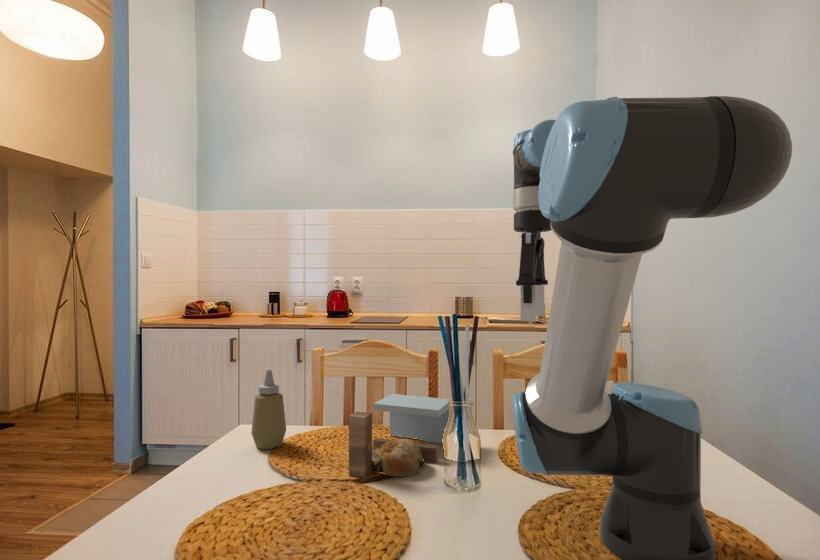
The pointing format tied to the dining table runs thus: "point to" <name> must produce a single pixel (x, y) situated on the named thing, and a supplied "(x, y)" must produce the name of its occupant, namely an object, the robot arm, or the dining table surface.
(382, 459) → the bread roll
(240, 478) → the dining table surface
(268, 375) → the squeeze bottle
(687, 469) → the robot arm
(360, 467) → the wooden l-shaped post
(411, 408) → the low gray box
